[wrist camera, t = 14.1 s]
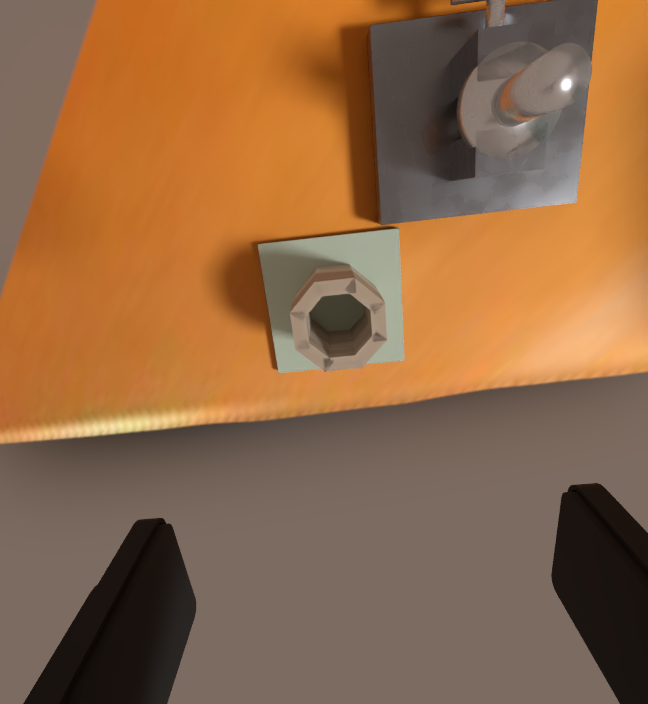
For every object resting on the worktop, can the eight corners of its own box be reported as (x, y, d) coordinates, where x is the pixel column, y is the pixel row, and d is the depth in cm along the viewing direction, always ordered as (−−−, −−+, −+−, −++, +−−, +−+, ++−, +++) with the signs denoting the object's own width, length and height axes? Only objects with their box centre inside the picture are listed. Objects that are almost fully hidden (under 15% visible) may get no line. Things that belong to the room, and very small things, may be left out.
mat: (397, 227, 31) (398, 228, 31) (403, 358, 35) (404, 360, 34) (258, 243, 32) (257, 244, 31) (279, 370, 35) (278, 373, 35)
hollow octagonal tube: (373, 261, 31) (383, 274, 26) (378, 338, 34) (388, 365, 28) (292, 270, 32) (285, 285, 26) (302, 345, 34) (298, 374, 28)
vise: (580, -3, 26) (773, -157, 15) (560, 202, 30) (698, 203, 19) (366, 26, 27) (396, -101, 15) (378, 223, 31) (408, 236, 20)
